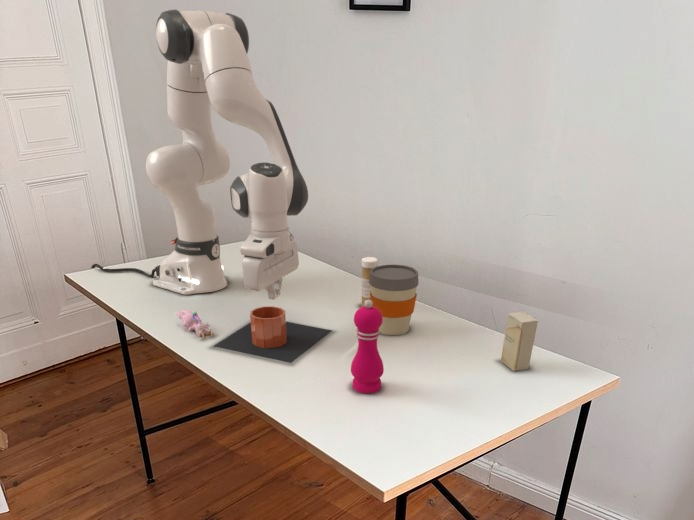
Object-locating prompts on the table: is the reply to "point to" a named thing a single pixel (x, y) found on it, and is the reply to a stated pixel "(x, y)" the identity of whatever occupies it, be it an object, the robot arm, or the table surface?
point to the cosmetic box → (519, 340)
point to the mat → (296, 345)
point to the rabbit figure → (194, 323)
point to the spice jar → (367, 277)
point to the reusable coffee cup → (394, 296)
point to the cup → (268, 327)
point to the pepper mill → (367, 350)
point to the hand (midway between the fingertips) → (274, 297)
